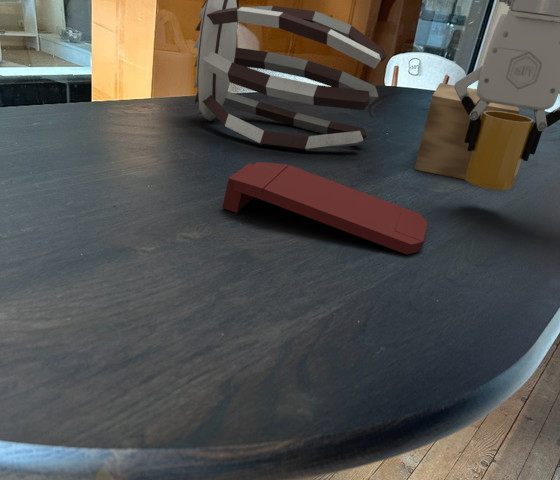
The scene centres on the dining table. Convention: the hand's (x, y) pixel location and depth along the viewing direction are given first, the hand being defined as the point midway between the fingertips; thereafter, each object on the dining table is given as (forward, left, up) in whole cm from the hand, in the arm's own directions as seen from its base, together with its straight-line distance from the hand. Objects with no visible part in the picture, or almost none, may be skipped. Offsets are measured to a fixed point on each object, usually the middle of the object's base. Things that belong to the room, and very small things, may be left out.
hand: (497, 152), depth 83 cm
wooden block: (+4, -26, -9) cm, 28 cm away
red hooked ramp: (+19, +18, -9) cm, 28 cm away
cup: (0, 0, -4) cm, 4 cm away
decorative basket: (+38, -22, -9) cm, 45 cm away
